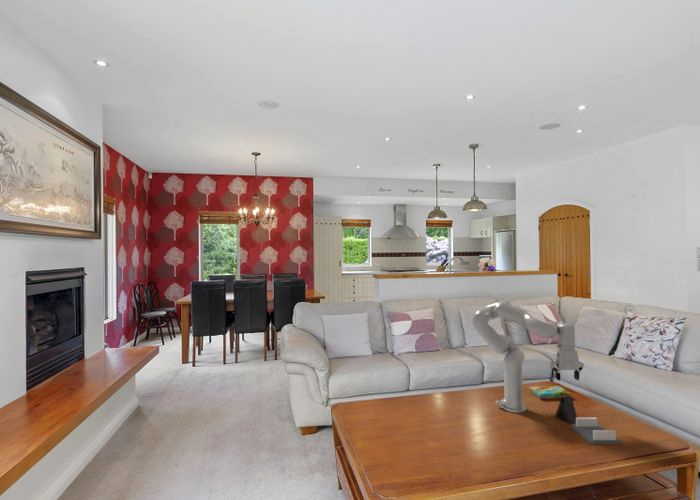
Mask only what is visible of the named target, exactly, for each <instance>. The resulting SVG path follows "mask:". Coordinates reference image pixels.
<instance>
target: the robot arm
mask: <svg viewBox="0 0 700 500" xmlns="http://www.w3.org/2000/svg"><path fill="white" fill-rule="evenodd" d="M499 318H501V319H505V320H507V321H508V322H511V323H514V324H516V325H518V326H521V327H522V328H524V329H526V330H528V331H530V332H531V333H534V334H536V335H539V336H540V337H543V338H546V339H553V338H555V337H557V336H558V342H557V344H556V348H557V350H556V356H555V361H553V362H551V363H550V364H549V365H550V367H551V370H554V372H555V373H554V374H555V376H554V377H555V379H556V380H557V381H559V382H560V381H561V371H562V370H563V371H573V378H574V380H576V381H580V373H581V371H582V370H583V368H584V366H585V363H583V362H581V361H580V359H579V354H578V351H577V349H576V330H575V329H576V327H575V325H574V324H572V323H567V322H566V323H565V322H558V321H553V320H552V321H546V322H545V321H542V320H540V319H537V318H536V317H534V316H533V315H532V314H530V312H528V311H526V310H524V309H522V308H519V307H516V306H514V305H512V304H511V303H510V302H509V301H507V300H501V301H498V302H496V303H493V304H490V305H487V306H485V307H481V308H480V309H478V310H476V311H475V313H474V315H473V317H472V325H473V329H474V331H475V332H476V333H477V334H478V335H479V336H480V337H481V338H482V340H484V342H485V343H486V344H487V345H488V347H490V349H491V350H492V351H493V352H494V353H496V354H498V355H501V354H502V355H503V356H504V358H503V373H504V375H503V377H504V378H503V380H504V385H503V386H504V387H503V388H504V389H503V390H504V394H503V395H504V397H503V398H502V399H501V400H498V399H497V400H495V405H499V406H501V409H503V410H505V411H507V412H511V413H514V414H515V413H517V414H518V413H519V414H520V413H525V412H526V410H527V407H526V406H525V405H524V403H523V402H524V401H523V400H524V395H523V393H524V389H523V387H524V386H523V385H524V382H523V381H524V380H523V364H524V362H525V359H526V357H525V354H524V353H523V350H521V349H520V348H519V346H518V345H517V344H516V343H514V341H513V340H511V338H510V337H509V336H507V335H505V334H499V333H498V332H497V330H495V329H494V328H493V327H492V326H490V324H489V322H490V321H492V320H495V319H499Z"/></svg>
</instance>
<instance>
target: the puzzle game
mask: <svg viewBox="0 0 700 500" xmlns="http://www.w3.org/2000/svg"><path fill="white" fill-rule="evenodd" d="M528 391H529V392H530V393H531V395H534V396H535V397H537V398H538V399H539V400H556V399H557V400H558V399H559V400H560V398H561V397H566V396H570V397H571V396H572V392H570V391H568V390H567V389H565V388H563V387H561V386H560V385H546V386H545V385H539V386H528Z"/></svg>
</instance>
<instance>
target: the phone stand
mask: <svg viewBox="0 0 700 500" xmlns="http://www.w3.org/2000/svg"><path fill="white" fill-rule="evenodd" d="M554 417H555V418H556V417H557V419H558V418H559V420H560V419H561V421H563V422H564V421H565V423H566V422H567V423H566V424H568V423H569V425H573V424H576V418H578V414H577V412H576V408H575V404H574V398H573V396H571V395H570V396H566V397H561V398H560V399H559V405H558V407H557V410H556V413H555V416H554Z"/></svg>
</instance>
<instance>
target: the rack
mask: <svg viewBox="0 0 700 500" xmlns="http://www.w3.org/2000/svg"><path fill="white" fill-rule="evenodd" d="M570 428H571V429H572V430H573V431H574V432H575V433H577V435H579V436H581V438H583V439H584V440H585V441H586V442H588V443H589V444H590V445H622V440H621V439H620V438H618V437H617V431H616V430H614V429H613V430H612V429H611V430H610V429H609V430H607V429H606V428H605V427H602V426H601V425H600V424H598V418H597V417H595V416H594V417H577V418H576V423H575V424H570Z"/></svg>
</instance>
